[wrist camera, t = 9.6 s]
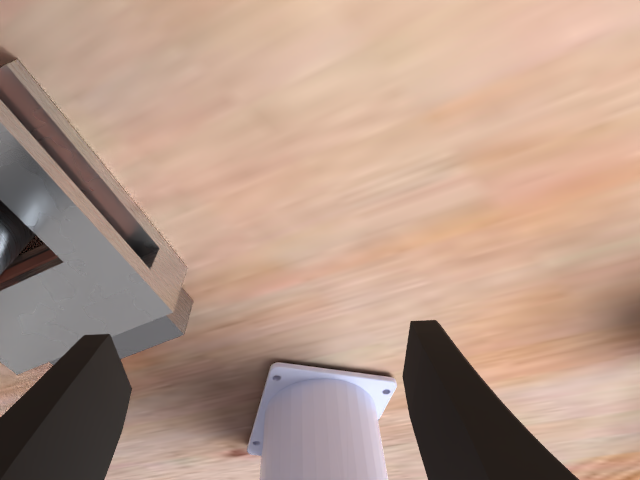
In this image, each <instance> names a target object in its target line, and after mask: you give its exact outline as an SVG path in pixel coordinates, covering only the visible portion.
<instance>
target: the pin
mask: <svg viewBox="0 0 640 480" xmlns="http://www.w3.org/2000/svg"><path fill="white" fill-rule="evenodd" d="M35 235H36V234H35V233H34V232H33V231H32V230H31V229H30V228H29V227H27V226H26V225H25V224H24V223H23V222H22V221H21V220H20V219H19V218H18V217H17V216H16V215H15V214H14V213H13V212H12V211H11V210H10V209H9V208H8V207H7V206H6V205H5V204H4V203H3V202H2V201H1V200H0V275H1V274H2V273H3V272H4V270H5V269H6V268H7V267H8V266H9V265H10V264H11V262H12V261H13V260H14V259H15V258H16V257H17V256H18V255H19V253H20V252H21V251H22V250H23V249H24V248H25V247H26V245H27V244H28V243H29V242H30V241H31V240H32V239H33V238H34V236H35Z"/></svg>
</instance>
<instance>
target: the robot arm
mask: <svg viewBox="0 0 640 480" xmlns="http://www.w3.org/2000/svg"><path fill="white" fill-rule="evenodd" d="M276 375H278V376H276ZM403 381H404V387H405V393H406V399H407V404H408V410H409V415H410V419H411V423H412V426H413V430H414V433H415V436H416V440H417V443H418V447H419V450H420V454H421V457H422V460H423V464H424V467H425V470H426V474H427V477H428V480H579V479H578V478H577V477H576V476H574V475H573V474H572V473H571V472H570V471H569V470H568V469H567V468H566V467H565V466H564V465H563V464H562V463H561V462H560V461H558V460H557V459H556V458H555V457H554V456H553V455H552V454H551V453H550V452H549V451H548V450H547V449H546V448H545V447H544V446H543V445H542V444H541V443H540V442H539V441H538V440H537V439H536V438H535V437H534V436H533V435H532V434H531V433H530V432H529V431H528V430H527V429H526V427H525V426H524V425H523V424H522V423H521V422H520V421H519V420H518V419H517V418H516V417H515V416H514V415H513V414H512V413H511V411H510V410H509V409H508V408H507V407H506V406H505V405H504V404H503V403H502V401H501V400H500V399H499V398H498V397H497V396H496V394H495V393H494V392H493V391H492V390H491V389H490V387H489V386H488V385H487V384H486V383H485V382H484V380H483V379H482V378H481V377H480V376H479V374H478V373H477V372H476V371H475V370H474V368H473V367H472V366H471V365H470V363H469V362H468V361H467V359H466V358H465V357H464V356H463V354H462V353H461V352H460V351H459V349H458V348H457V347H456V345H455V344H454V343H453V341H452V340H451V339H450V337H449V336H448V335H447V333H446V332H445V331H444V329H443V328H442V327H441V325H440V324H439V323H438V322H437V321H436V320H427V321H411V323H410V329H409V336H408V343H407V350H406V357H405V364H404V371H403ZM396 387H397V383H396V380H395V379H394V378H392V377H387V376H379V375H371V374H364V373H356V372H349V371H341V370H334V369H326V368H318V367H311V366H303V365H296V364H288V363H280V362H277V363H274V364H272V365H271V367H270V369H269V373H268V376H267V380H266V383H265V387H264V390H263V394H262V397H261V401H260V404H259V408H258V411H257V415H256V418H255V422H254V425H253V429H252V432H251V436H250V439H249V443H248V447H247V452H248V453H249V454H251V455H260V456H261V466H260V480H388V475H387V470H386V464H385V458H384V452H383V447H382V441H381V435H380V429H379V423H378V420H379V418H380V417H381V415H382V413H383V411H384V409H385V407H386V405H387V404H388V402H389V400H390V398H391V396H392V394H393V393H394V391H395V389H396ZM131 391H132V388H131V385H130V383H129V380H128V378H127V375H126V373H125V370H124V368H123V365H122V363H121V360H120V358H119V355H118V353H117V350H116V348H115V345H114V343H113V340H112V337H111V335H110V334H94V335H84V336H83V337H81V338H80V339H79V340H78V341H77V342H76V343H75V344H74V345H73V346H72V347H71V348H70V349H69V350H68V351H67V352H66V353H65V354H64V355H63V356H62V357H61V358H60V359H59V360H58V361H57V362H56V363H55V364H54V365H53V366H52V367H51V368H50V369H49V370H48V371H47V372H46V373H45V374H44V375H43V376H42V377H41V378H40V379H39V380H38V381H37V382H36V383H35V384H34V385H33V386H32V387H31V388H30V389H29V390H28V391H27V392H26V393H25V394H24V395H23V396H22V397H21V398H20V399H19V400H18V401H17V402H16V403H15V404H14V405H13V406H12V407H11V408H10V409H9V410H8V411H7V412H6V413H5V414H4V415H3V416H2V417H0V480H104V479H105V476H106V474H107V471H108V468H109V466H110V463H111V460H112V457H113V455H114V452H115V449H116V446H117V444H118V441H119V438H120V435H121V432H122V429H123V425H124V421H125V417H126V413H127V409H128V404H129V400H130V395H131Z"/></svg>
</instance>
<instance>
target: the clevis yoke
mask: <svg viewBox="0 0 640 480" xmlns="http://www.w3.org/2000/svg"><path fill="white" fill-rule="evenodd" d="M0 200H1V201H2V202H3V203H4V204H5V205H6V206H7V207H8V208H9V209H10V210H11V211H12V212H13V213H14V214H15V215H16V216H17V217H18V218H19V219H20V220H21V221H22V222H23V223H24V224H25V225H26V226H27V227H29V228H30V229H31V230H32V231H33V232H34V233H35V234H36V235H37V236H38V237H39V238H40V239H41V240H42V241H43V242H44V243H45V244H43V245H41V246H39V247H36V248H34V249H32V250H30V251H28V252H26V253H24V254H22V255H18V256H17V257H16V258H15V259H14V260H13V261H12V262H11V264H10V265H9V266H8V267H7V268H6V270H7V269H9V268H11V267H14V266H16V265H18V264H20V263H22V262H24V261H27V260H29V259H31V258H33V257H35V256H37V255H40V254H42V253H44V252H46V251H48V250H50V249H51V250H52V251H53V252H54V253H55V254H56V255H57V256H58V257H57V258H55V259H53V260H51V261H49V262H46V263H44V264H42V265H40V266H38V267H36V268H33V269H31V270H29V271H27V272H25V273H22V274H20V275H18V276H16V277H14V278H11V279H9V280H7V281H5V282H3V283H1V284H0V362H1V363H2V364H3V365H5V366H6V367H8V368H9V369H10V370H12V371H13V372H14V373H16V374H17V375H18V374H20V373H23V372H25V371H28V370H30V369H33V368H35V367H38V366H40V365H43V364H45V363H48V362H50V363H51V364H53V365H54V364H55V363H56V362H57V361H58V360H59V359H60V358H61V357H62V356H63V355H64V354H65V353H66V352H67V351H68V350H69V349H70V348H71V347H72V346H73V345H74V344H75V343H76V342H77V341H78V340H79V339H80V338H81V337H83V336H84V335H94V334H110V335H111V337H112V340H113V343H114V345H115V348H116V350H117V353H118V355H119V358H120V359H122V358H125V357H127V356H130V355H132V354H135V353H137V352H140V351H143V350H145V349H148V348H150V347H153V346H156V345H158V344H161V343H163V342H166V341H169V340H171V339H174V338H176V337H179V336H182V335H184V333H185V329H186V326H187V322H188V319H189V315H190V312H191V308H192V305H193V300H192V299H191V298H190V297H189V295H188V294H187V293H186V292H185V291H184V290H183V288H182V284H183V281H184V278H185V275H186V272H187V269H188V268H187V267H186V265H185V264H184V263H183V262H182V260H181V259H180V258H179V257H178V255H177V254H176V253H175V252H174V251H173V249H172V248H171V247H170V246H169V244H168V243H167V242H166V241H165V240H164V238H163V237H162V236H161V235H160V233H159V232H158V231H157V230H156V228H155V227H154V226H153V225H152V224H151V222H150V221H149V220H148V219H147V217H146V216H145V215H144V214H143V213H142V211H141V210H140V209H139V208H138V206H137V205H136V204H135V203H134V201H133V200H132V199H131V198H130V197H129V195H128V194H127V193H126V192H125V190H124V189H123V188H122V187H121V186H120V184H119V183H118V182H117V181H116V179H115V178H114V177H113V176H112V174H111V173H110V172H109V171H108V170H107V168H106V167H105V166H104V165H103V163H102V162H101V161H100V160H99V159H98V157H97V156H96V155H95V154H94V152H93V151H92V150H91V149H90V147H89V146H88V145H87V144H86V143H85V141H84V140H83V139H82V138H81V136H80V135H79V134H78V133H77V131H76V130H75V129H74V128H73V127H72V125H71V124H70V123H69V122H68V120H67V119H66V118H65V117H64V116H63V114H62V113H61V112H60V111H59V109H58V108H57V107H56V106H55V104H54V103H53V102H52V101H51V100H50V98H49V97H48V96H47V95H46V93H45V92H44V91H43V90H42V89H41V87H40V86H39V85H38V84H37V82H36V81H35V80H34V79H33V77H32V76H31V75H30V74H29V73H28V71H27V70H26V69H25V68H24V66H23V65H22V64H21V63H20V62H19V60H18V59H17V60H15V61H13V62H10V63H8V64H6V65H4V66H2V67H1V68H0Z"/></svg>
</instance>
